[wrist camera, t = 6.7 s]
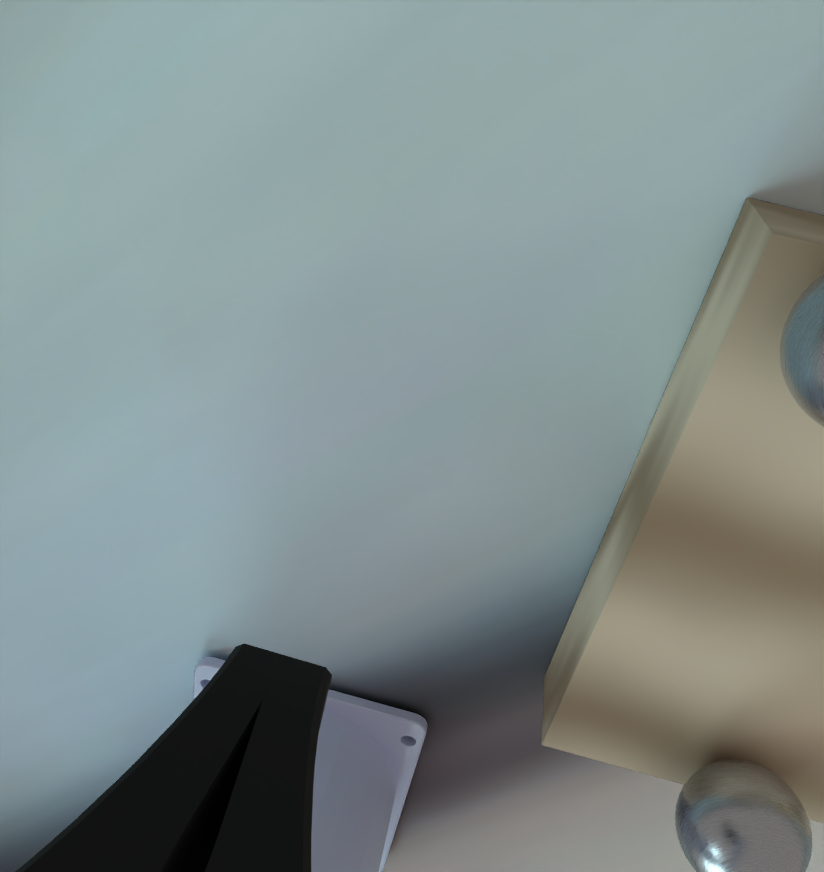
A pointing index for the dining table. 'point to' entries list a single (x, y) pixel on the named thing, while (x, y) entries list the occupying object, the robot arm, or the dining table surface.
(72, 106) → the dining table surface
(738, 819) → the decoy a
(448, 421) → the dining table surface
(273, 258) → the dining table surface
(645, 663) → the plate
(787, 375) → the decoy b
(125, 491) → the dining table surface
